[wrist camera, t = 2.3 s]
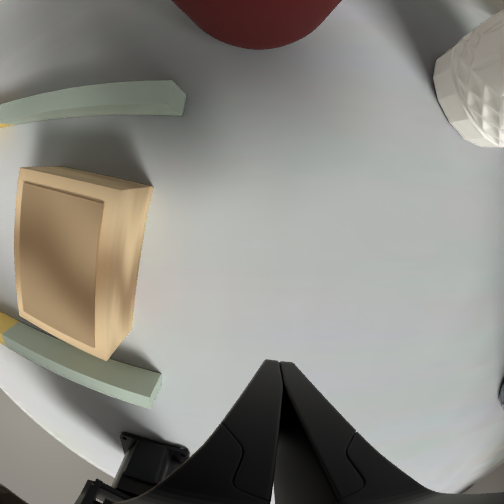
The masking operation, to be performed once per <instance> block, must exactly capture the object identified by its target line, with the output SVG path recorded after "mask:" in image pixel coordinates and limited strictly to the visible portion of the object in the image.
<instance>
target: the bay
mask: <svg viewBox="0 0 504 504" xmlns="http://www.w3.org/2000/svg"><path fill="white" fill-rule="evenodd" d="M186 96H187V95H186V94H185V93H184V92H183V91H182V90H181V89H180V88H179V87H178V86H177V85H176V84H175V82H174V81H173V80H150V81H128V82H114V83H104V84H95V85H87V86H80V87H73V88H67V89H61V90H56V91H51V92H46V93H41V94H37V95H33V96H29V97H25V98H21V99H17V100H14V101H10V102H7V103H3V104H0V128H1V127H6V126H11V125H17V124H22V123H29V122H35V121H42V120H50V119H59V118H69V117H81V116H97V115H175V116H182V115H183V110H184V105H185V100H186ZM0 343H1V344H3V345H5V346H6V347H8V348H9V349H11V350H13V351H14V352H16V353H18V354H20V355H21V356H23V357H25V358H27V359H28V360H30V361H32V362H34V363H36V364H38V365H40V366H42V367H44V368H46V369H48V370H50V371H52V372H54V373H56V374H58V375H60V376H62V377H64V378H66V379H69V380H71V381H73V382H75V383H78V384H80V385H82V386H85V387H87V388H90V389H92V390H95V391H97V392H100V393H103V394H105V395H108V396H111V397H114V398H116V399H119V400H122V401H125V402H128V403H131V404H134V405H138V406H141V407H144V408H148V409H151V408H152V406H153V404H154V402H155V399H156V397H157V395H158V393H159V391H160V388H161V386H162V382H161V374H160V373H156V372H153V371H149V370H145V369H142V368H138V367H135V366H131V365H128V364H125V363H122V362H118V361H115V360H112V359H108V360H107V361H105V360H102V359H100V358H98V357H96V356H94V355H91V354H89V353H87V352H85V351H83V350H81V349H79V348H77V347H75V346H73V345H71V344H68V343H66V342H63V341H61V340H58V339H56V338H54V337H51V336H49V335H47V334H45V333H42V332H40V331H38V330H36V329H34V328H32V327H30V326H27V325H25V324H23V323H21V322H19V321H17V320H15V319H13V318H12V317H10V316H8V315H6V314H4V313H2V312H0Z"/></svg>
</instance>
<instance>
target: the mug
mask: <svg viewBox="0 0 504 504" xmlns="http://www.w3.org/2000/svg"><path fill="white" fill-rule="evenodd" d="M172 1H173V2H174V3H175V4H176V5H177V6H178V7H179V8H180V9H181V10H182V11H183V12H184V13H185V14H186V15H187V16H188V17H189V18H190V19H191V20H192V21H193V22H194V23H195V24H196V25H197V26H199V27H200V28H201V29H202V30H203V31H205V32H206V33H207V34H209V35H210V36H212V37H214V38H215V39H218V40H220V41H222V42H224V43H227V44H230V45H233V46H237V47H241V48H246V49H255V50H263V49H272V48H277V47H281V46H284V45H287V44H290V43H293V42H295V41H297V40H299V39H301V38H303V37H305V36H307V35H308V34H310V33H311V32H312V31H313V30H315V29H316V28H317V27H318V26H319V25H320V24H321V23H322V22H323V21H324V20H325V18H326V17H327V16H328V15H329V14H330V13H331V12H332V11H333V9H334V8H335V7H336V6H337V5H338V4H339V3H340V2H341V1H342V0H172Z"/></svg>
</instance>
